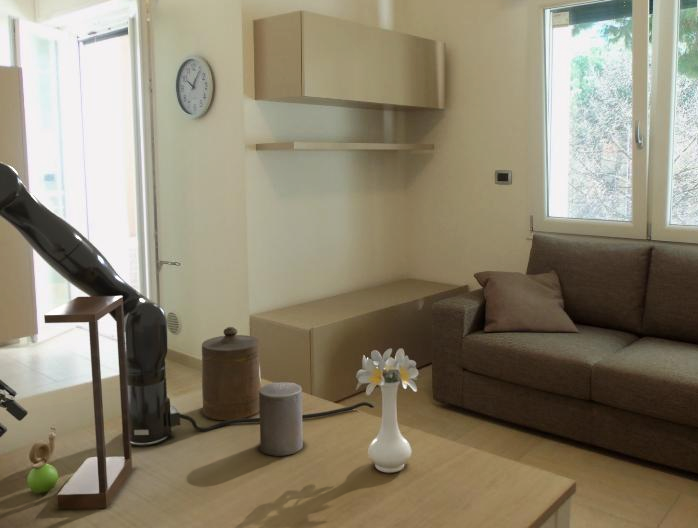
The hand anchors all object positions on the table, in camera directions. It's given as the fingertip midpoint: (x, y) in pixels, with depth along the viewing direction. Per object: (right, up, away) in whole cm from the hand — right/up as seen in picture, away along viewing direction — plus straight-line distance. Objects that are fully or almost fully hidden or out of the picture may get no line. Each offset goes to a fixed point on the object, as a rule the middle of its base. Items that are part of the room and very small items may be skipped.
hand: (14, 425), depth 135 cm
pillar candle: (+49, -11, +21) cm, 55 cm away
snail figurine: (+5, -14, +2) cm, 15 cm away
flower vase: (+74, -12, +12) cm, 75 cm away
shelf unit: (+15, -13, +3) cm, 20 cm away
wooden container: (+33, -8, +44) cm, 56 cm away
